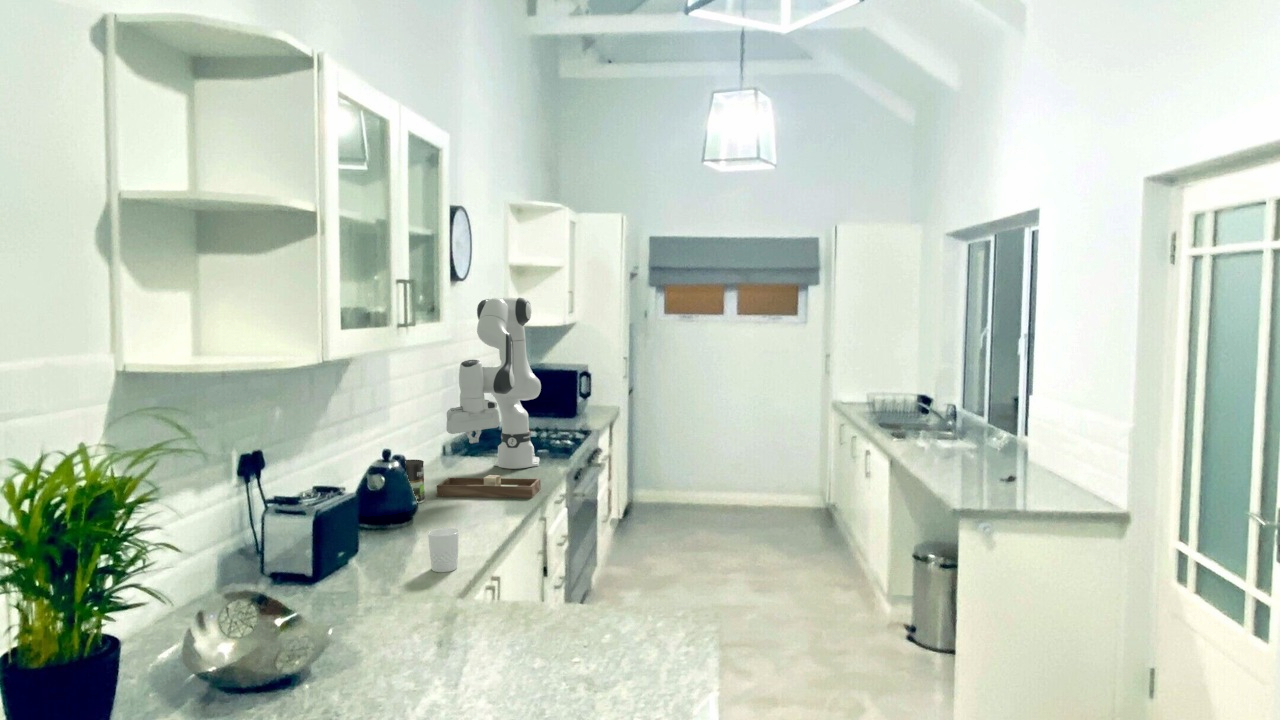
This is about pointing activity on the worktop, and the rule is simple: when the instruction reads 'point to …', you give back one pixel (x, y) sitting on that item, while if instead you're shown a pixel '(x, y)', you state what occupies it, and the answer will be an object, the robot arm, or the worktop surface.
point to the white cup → (443, 549)
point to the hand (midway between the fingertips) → (474, 442)
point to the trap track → (488, 488)
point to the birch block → (492, 480)
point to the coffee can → (416, 478)
